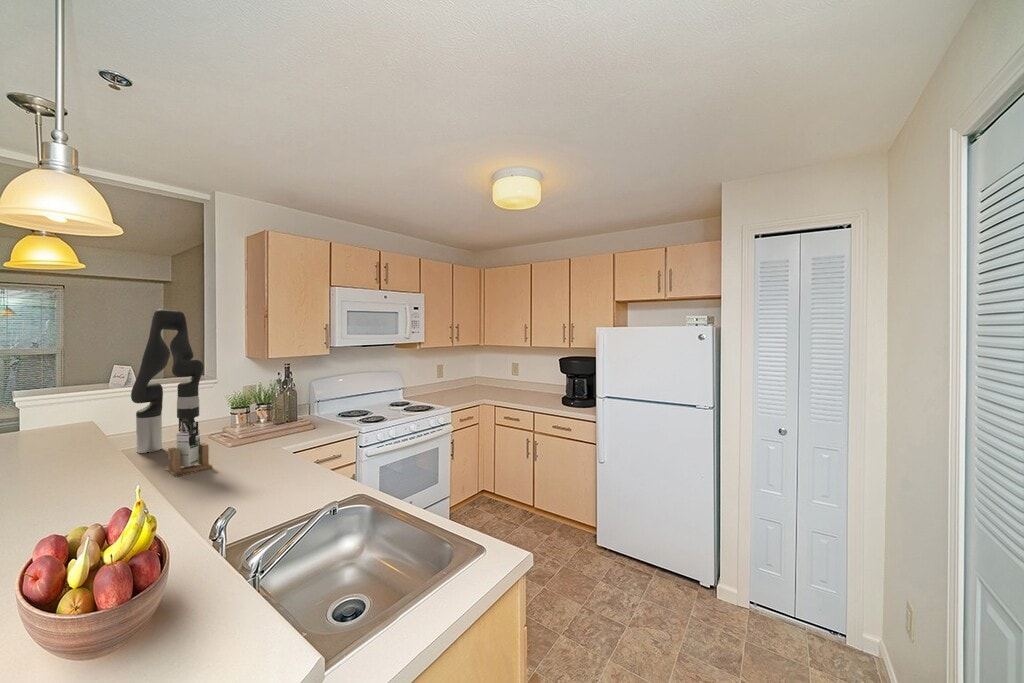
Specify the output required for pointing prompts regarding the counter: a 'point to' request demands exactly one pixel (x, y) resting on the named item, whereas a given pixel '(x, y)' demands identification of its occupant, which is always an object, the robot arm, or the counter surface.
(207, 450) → the slot block
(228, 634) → the counter surface
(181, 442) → the syrup box
